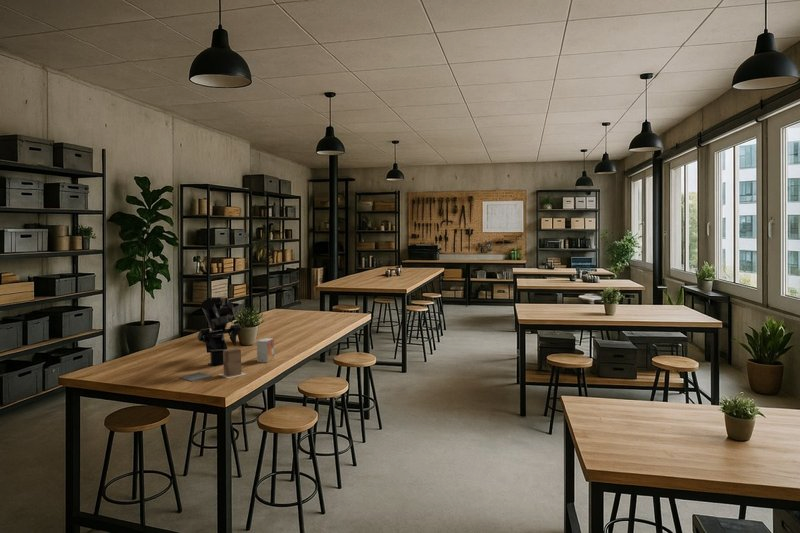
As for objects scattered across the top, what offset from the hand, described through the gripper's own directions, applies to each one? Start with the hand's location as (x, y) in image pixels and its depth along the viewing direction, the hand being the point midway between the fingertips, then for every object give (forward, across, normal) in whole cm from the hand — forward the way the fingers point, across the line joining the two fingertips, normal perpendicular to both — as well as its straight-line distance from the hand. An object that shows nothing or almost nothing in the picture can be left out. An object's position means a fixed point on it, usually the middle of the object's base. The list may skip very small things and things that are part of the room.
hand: (225, 347), depth 235 cm
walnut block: (+12, 0, +4) cm, 13 cm away
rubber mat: (+7, -13, +10) cm, 18 cm away
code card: (+12, 0, +4) cm, 13 cm away
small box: (+3, +24, +14) cm, 28 cm away
